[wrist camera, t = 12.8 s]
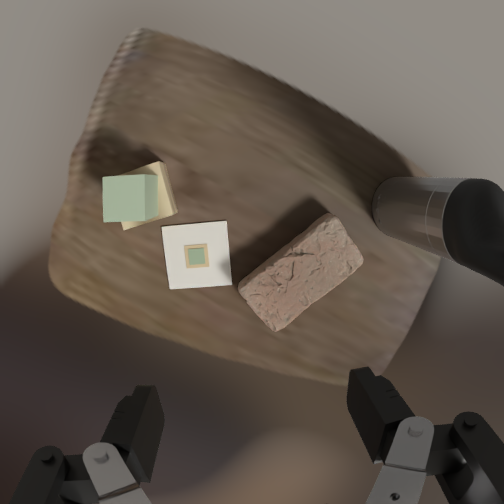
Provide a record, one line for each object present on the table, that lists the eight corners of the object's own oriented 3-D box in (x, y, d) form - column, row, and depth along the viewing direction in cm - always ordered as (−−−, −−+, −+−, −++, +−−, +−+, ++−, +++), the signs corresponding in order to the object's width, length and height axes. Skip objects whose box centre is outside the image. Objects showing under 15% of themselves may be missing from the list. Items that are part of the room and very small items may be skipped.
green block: (158, 175, 36) (144, 174, 31) (158, 215, 37) (145, 221, 32) (121, 177, 36) (102, 176, 30) (121, 216, 37) (103, 222, 31)
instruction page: (226, 220, 42) (226, 221, 41) (232, 284, 44) (232, 285, 43) (161, 226, 41) (161, 227, 41) (170, 288, 43) (169, 289, 43)
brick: (326, 208, 43) (337, 212, 38) (358, 253, 44) (370, 261, 40) (235, 281, 44) (234, 292, 40) (270, 321, 46) (274, 336, 41)
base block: (165, 163, 40) (158, 161, 36) (178, 211, 41) (173, 214, 38) (120, 179, 40) (109, 178, 36) (133, 226, 41) (123, 230, 38)
